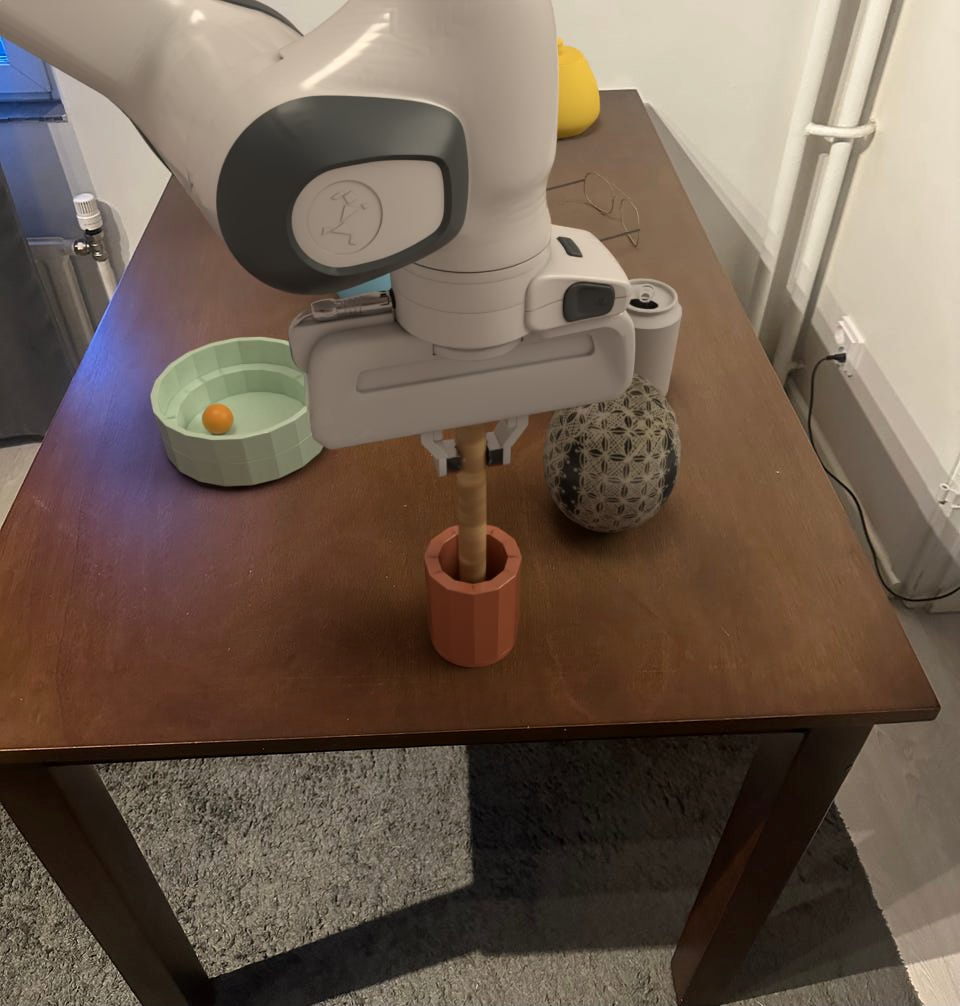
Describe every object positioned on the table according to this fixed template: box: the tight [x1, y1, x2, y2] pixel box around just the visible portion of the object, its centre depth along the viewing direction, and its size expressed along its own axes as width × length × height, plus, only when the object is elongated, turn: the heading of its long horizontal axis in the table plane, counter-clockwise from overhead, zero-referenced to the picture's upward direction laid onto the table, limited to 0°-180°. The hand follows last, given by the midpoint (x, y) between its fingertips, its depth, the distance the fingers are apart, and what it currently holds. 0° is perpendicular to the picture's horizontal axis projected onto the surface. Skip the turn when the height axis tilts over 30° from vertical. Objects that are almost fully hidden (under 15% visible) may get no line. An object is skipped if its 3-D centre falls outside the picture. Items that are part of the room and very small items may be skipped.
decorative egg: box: [542, 373, 682, 534], centre depth 76 cm, size 12×12×15 cm
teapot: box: [557, 37, 601, 140], centre depth 144 cm, size 20×19×13 cm
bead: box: [202, 404, 234, 434], centre depth 88 cm, size 3×3×3 cm
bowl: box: [149, 336, 325, 487], centre depth 87 cm, size 16×16×6 cm
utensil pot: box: [423, 524, 523, 668], centre depth 69 cm, size 7×7×9 cm
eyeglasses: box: [546, 171, 641, 247], centre depth 118 cm, size 16×15×5 cm
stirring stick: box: [454, 422, 488, 584], centre depth 63 cm, size 2×2×20 cm
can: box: [626, 277, 683, 397], centre depth 90 cm, size 8×8×12 cm
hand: (472, 464), depth 59 cm, fingers closed on stirring stick, 2 cm apart
